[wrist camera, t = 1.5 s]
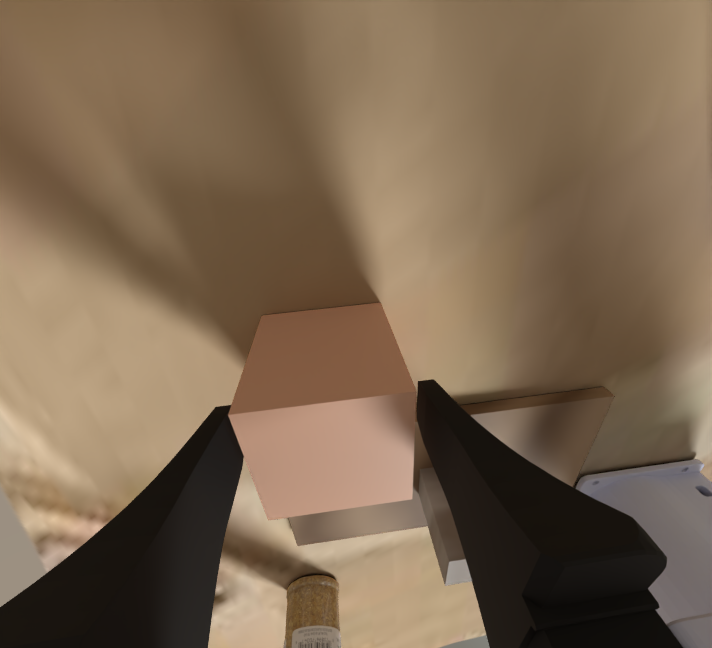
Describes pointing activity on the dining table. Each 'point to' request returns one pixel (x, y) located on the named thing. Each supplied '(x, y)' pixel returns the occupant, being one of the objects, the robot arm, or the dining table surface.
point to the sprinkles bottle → (313, 613)
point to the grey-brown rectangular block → (429, 504)
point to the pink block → (326, 412)
